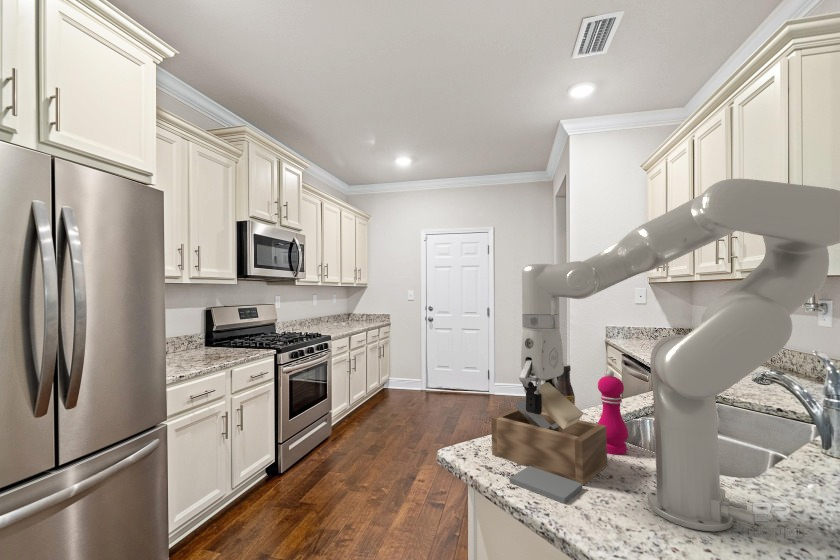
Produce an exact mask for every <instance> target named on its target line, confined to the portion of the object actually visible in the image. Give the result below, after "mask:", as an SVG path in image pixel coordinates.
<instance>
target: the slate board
mask: <svg viewBox="0 0 840 560" xmlns="http://www.w3.org/2000/svg"><path fill="white" fill-rule="evenodd" d="M508 480H509V483H510V484H513V485H515V486H518V487H520V488H522V489H526V490H528V491H530V492H533V493H536V494H538V495H541V496H543V497H546V498H548V499H551V500H554V501H557V502H559V503H562V504H566V503H567V502H568V501H570V500H571V499H572V498H573V497H575V496H576V495H577V494H579V492H581V491H582V490H583V489H584V488H583V485H582V484H581V483H579V482H576V481H573V480H570V479H567V478H564V477H561V476H558V475H555V474H552V473H549V472H546V471H543V470H540V469H537V468H534V467H531V466H528V467H527V466H525V468H523V469H521V470H520V471H518V472H516V473H515V474H512V476H510V477H509V479H508Z"/></svg>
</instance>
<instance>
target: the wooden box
mask: <svg viewBox="0 0 840 560" xmlns="http://www.w3.org/2000/svg"><path fill="white" fill-rule="evenodd" d="M540 415H541V416H542V417H543V418H544V419H545V420H546V421H547V422H548V423H549V424H550V425H553V424H555V423H556V422H555V421H554V420H553V419H552V418H551V417H550V416H549V415H548V414H547V413H546V412H545V411H542V413H541V414H540ZM490 421H491V423H490V424H491V454H492V455H493V456H495V457H498V458H502V459H504V460H507V461H510V462H513V463H515V464H518V465H522V466H525V467H528V466H531V467H534V468H537V469H540V470H543V471H546V472H549V473H552V474H555V475H558V476H561V477H564V478H567V479H570V480H573V481H576V482H579V483H581V484H582V486H584V485H585V484H587V483H588V482H589V481H591V480H592V479H593V478H594V477H596V476H597V475H598V474H599V473H600V472H601V471H603V470H604V469H605V468H606V467H608V453H607V439H606V426H604V425H600V424H598V423H595V422H590V421H585V420H582V419H579V420H578V422H577V423H575V424H573V425H571V426H569V427H567V428H565V429H562V428H561V427H560V428H559V429H558V431H560V432H557V431H553V430H549V429H546V428H542V427H538V426H534V425H533V424H532V423H531V422H530V421H529V420H528V419H527V418H526V417H525V416H524V415H523V414H522V413H521V412H520V411H519V410H518V409H517V408H516V407H515V408H513V409H511V410H508V411H506V412H502V413H500V414H498V415H495V416H493V417H491V420H490Z"/></svg>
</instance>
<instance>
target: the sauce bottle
mask: <svg viewBox="0 0 840 560" xmlns="http://www.w3.org/2000/svg"><path fill="white" fill-rule="evenodd" d="M563 365H564V372H563V374H562V375H560V376H559V379H558V388H557V390H558V391H559V392H560V393H561V394H562V395H564V396H565V397H566V398H567V399H568V400H569V401H570V402H571V403H573V404H574V405H575V406H576V404H575V403H576V402H575V401H576V399H575V398H576V396H575V392H574V389H573V385H572V383H571V364H566V363H565V364H564V363H563Z"/></svg>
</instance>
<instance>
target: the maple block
mask: <svg viewBox="0 0 840 560" xmlns="http://www.w3.org/2000/svg"><path fill="white" fill-rule="evenodd" d="M539 394H541V405H542V410H543V412H545V413H547V414H548V415H549V416H550V417H551V418H552V419H553V420H554V421H555V422H556V423H557V424H558V425H559V426H560V427H561V428H562V429H565V428H567V427H569V426H571V425H573V424H575V423H577V422H578V420H581V418H582V416H583V415H584V412H583V411H582V410H580V409H579V408H578V407H577V406H576V404H575V405H574V404H573V403H571V402H570V401H569V400H568V399H567V398H566V397H565V396H564V395H562V394H561V393H560V392H559V391H558V390H557V389H556V388H554V387H553V386H552V385H551V384H550V383H549V382H547V383H541V386H540V391H539Z"/></svg>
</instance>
